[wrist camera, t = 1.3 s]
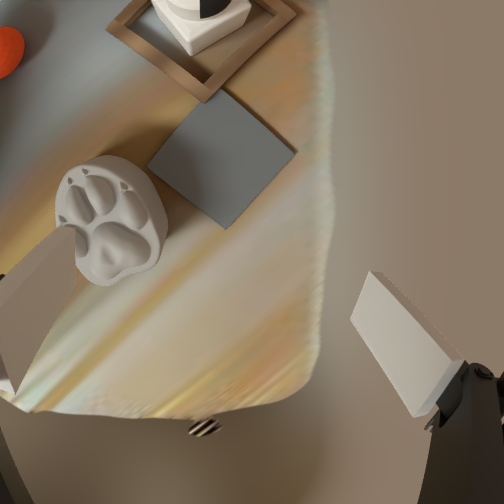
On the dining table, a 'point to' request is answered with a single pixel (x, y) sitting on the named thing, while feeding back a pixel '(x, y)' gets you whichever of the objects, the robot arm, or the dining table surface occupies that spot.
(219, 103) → the mat
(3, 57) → the clementine
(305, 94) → the dining table surface
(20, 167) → the dining table surface
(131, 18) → the pocket
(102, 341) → the dining table surface
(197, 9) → the medicine bottle
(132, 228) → the lumpy-topped squat cylinder
